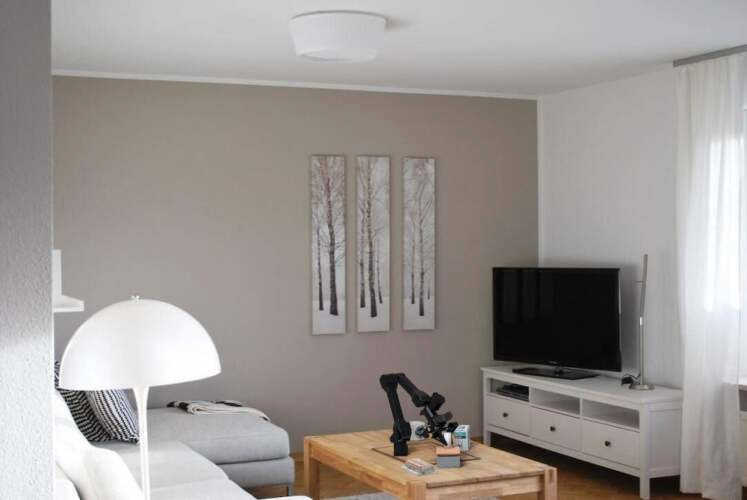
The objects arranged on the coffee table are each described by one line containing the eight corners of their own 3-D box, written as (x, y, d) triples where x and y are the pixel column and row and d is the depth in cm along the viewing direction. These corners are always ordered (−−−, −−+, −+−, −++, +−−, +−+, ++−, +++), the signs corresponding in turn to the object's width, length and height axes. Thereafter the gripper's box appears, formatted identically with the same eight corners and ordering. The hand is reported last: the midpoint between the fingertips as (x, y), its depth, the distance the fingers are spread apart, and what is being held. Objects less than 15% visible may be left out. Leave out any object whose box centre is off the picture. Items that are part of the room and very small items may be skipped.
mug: (412, 436, 514) (411, 420, 514) (429, 438, 508) (428, 422, 508) (397, 440, 503) (397, 424, 503) (414, 442, 497) (414, 426, 497)
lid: (436, 456, 439) (436, 435, 439) (436, 451, 449) (435, 430, 449) (460, 455, 438) (459, 435, 438) (459, 450, 449) (458, 430, 449)
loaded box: (437, 468, 439) (437, 457, 439) (437, 463, 449) (436, 452, 449) (459, 467, 438) (459, 456, 438) (459, 462, 448) (458, 451, 448)
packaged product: (438, 463, 429) (417, 466, 425) (438, 474, 429) (417, 477, 425) (421, 455, 446) (400, 458, 442) (421, 466, 446) (401, 468, 442)
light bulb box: (468, 451, 474) (467, 428, 474) (454, 450, 475) (453, 428, 475) (470, 446, 484) (469, 424, 484) (456, 446, 486) (456, 424, 486)
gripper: (425, 408, 441) (443, 436, 432) (455, 403, 452) (473, 430, 444) (414, 424, 447) (431, 452, 438) (444, 418, 459) (461, 445, 450)
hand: (449, 444), depth 443 cm, fingers closed on lid, 3 cm apart
